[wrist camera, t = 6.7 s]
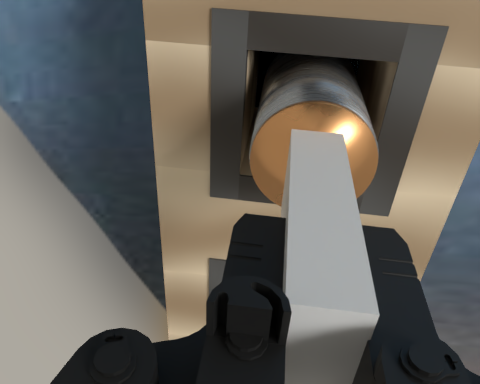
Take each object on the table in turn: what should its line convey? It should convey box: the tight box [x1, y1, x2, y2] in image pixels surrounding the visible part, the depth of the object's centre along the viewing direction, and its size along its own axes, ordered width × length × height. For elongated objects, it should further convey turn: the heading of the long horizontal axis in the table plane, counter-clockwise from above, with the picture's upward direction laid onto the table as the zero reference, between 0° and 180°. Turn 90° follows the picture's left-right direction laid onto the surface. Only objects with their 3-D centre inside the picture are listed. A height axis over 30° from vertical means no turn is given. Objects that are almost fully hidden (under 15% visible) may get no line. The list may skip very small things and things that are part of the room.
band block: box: [142, 0, 480, 340], centre depth 21 cm, size 22×12×7 cm, turn 177°
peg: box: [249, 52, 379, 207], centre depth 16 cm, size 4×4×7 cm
